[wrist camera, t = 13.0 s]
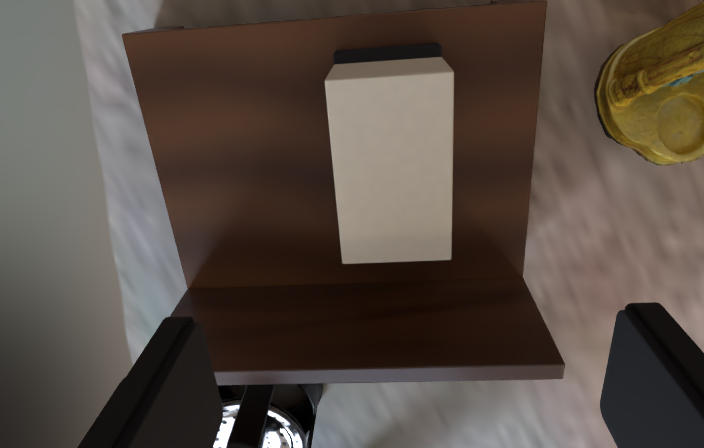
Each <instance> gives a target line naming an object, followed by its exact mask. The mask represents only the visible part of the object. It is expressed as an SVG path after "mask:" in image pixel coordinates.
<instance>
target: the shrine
mask: <svg viewBox="0 0 704 448" xmlns="http://www.w3.org/2000/svg"><path fill="white" fill-rule="evenodd" d="M594 95H595V96H594V97H595V103H596V107H597V115H598V118H599V121H600V123H601V125H602V127H603V130H604V132H605V134H606V136H607V137H609V138H611V139H613V140H614V141H616V142H617V143H619V144H621V145H623V146H626V147H629V148H631V149H633V150H634V151H635V152H636V153H637V154H639V155H640V156H642V157H643V158H644V159H645V160H646V161H650V162H652V163H654V164H656V165H671V164H675V163H680V162H681V163H683V162H686V161H687V162H692V161H695V160H697V159H699V158H701V157H702V156H703V155H704V2H702V3H700V4H698V5H697V6H695V7H693V8H691V9H689V10H688V11H687V12H685V13H684V14H682V15H681V16H679V17H678V18H676V19H674V20H672V21H670V22H669V23H667V24H666V25H664V26H663V27H661V28H655V29H653V30H651V31H650V32H648V33H645V34H642V35H639V36H636V37H635V38H633V39H632V40H630V42H628V43H626V44H623V45H620V46H619V47H618V48H617V49H616V50H615V51H614V52H613V53H612V54H611V55H610V56H609V57H608V58H607V60H606V61H605V62H604V63H603V64H602V66H601V69H600V71H599V74H598V77H597V80H596V83H595V88H594Z"/></svg>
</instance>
